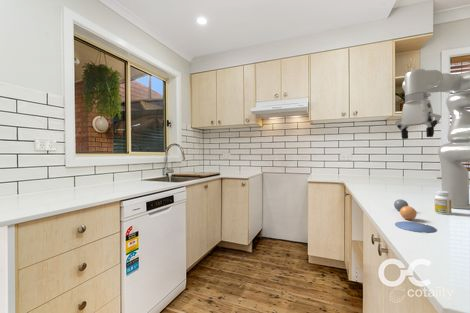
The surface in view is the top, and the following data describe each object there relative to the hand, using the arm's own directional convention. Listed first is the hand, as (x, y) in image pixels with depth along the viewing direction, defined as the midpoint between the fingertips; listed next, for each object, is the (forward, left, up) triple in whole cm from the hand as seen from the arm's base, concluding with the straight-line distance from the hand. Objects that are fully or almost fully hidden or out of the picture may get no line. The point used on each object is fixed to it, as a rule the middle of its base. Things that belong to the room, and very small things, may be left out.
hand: (416, 137), depth 95 cm
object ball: (+8, -5, -32) cm, 33 cm away
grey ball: (-6, -5, -32) cm, 32 cm away
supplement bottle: (-8, +10, -35) cm, 37 cm away
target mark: (+18, -5, -34) cm, 39 cm away
